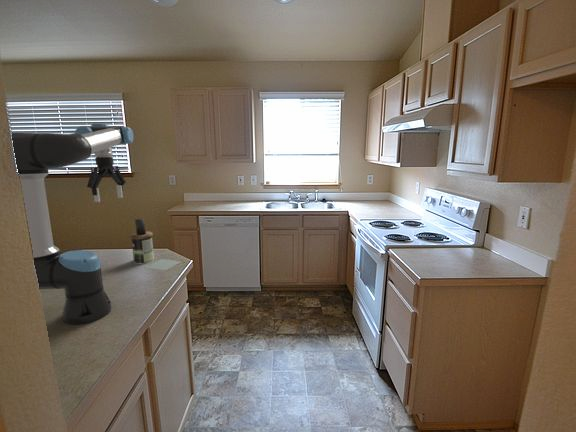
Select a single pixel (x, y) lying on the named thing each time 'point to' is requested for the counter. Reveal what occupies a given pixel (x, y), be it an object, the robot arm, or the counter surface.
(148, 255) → the coffee can
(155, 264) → the mat
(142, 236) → the lid
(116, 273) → the counter surface
